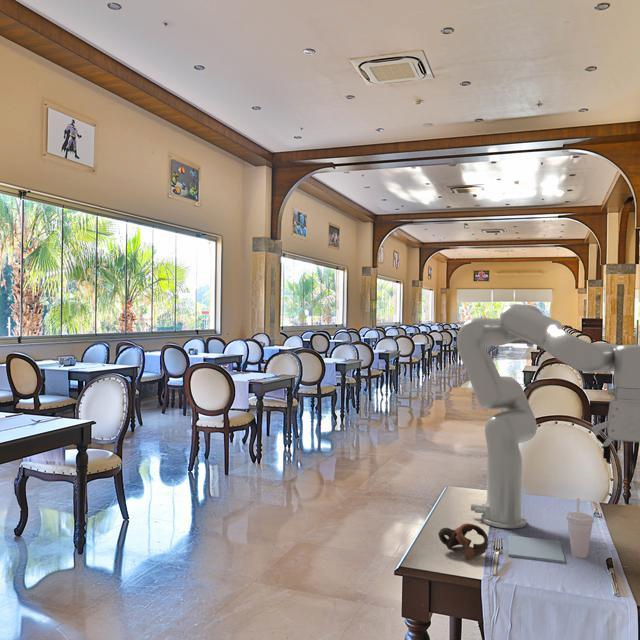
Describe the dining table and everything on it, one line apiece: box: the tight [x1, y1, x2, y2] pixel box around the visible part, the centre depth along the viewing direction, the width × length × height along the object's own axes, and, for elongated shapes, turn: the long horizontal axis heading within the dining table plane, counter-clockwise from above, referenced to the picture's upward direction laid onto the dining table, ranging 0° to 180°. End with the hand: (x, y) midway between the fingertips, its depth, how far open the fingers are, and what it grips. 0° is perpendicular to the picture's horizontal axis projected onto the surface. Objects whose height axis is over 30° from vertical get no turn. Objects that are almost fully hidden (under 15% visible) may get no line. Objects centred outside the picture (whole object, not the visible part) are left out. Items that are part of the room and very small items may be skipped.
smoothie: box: [566, 498, 595, 559], centre depth 151 cm, size 6×6×14 cm
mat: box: [507, 534, 566, 564], centre depth 154 cm, size 13×14×1 cm
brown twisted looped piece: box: [438, 523, 489, 561], centre depth 151 cm, size 12×9×8 cm
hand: (629, 463), depth 151 cm, fingers open, 9 cm apart
